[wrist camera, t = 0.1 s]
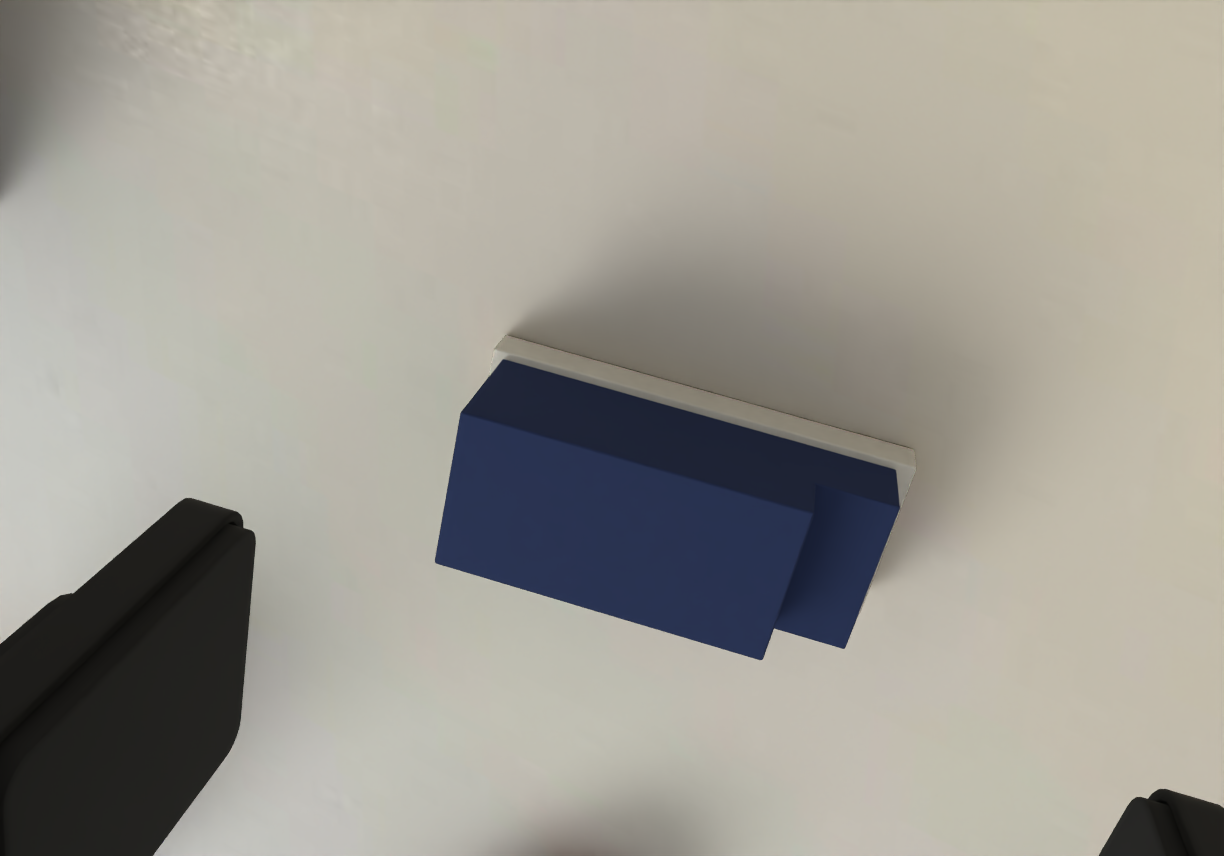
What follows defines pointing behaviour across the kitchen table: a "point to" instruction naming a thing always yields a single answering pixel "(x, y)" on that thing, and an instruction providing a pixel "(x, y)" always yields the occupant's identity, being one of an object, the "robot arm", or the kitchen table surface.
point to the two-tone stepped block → (667, 502)
